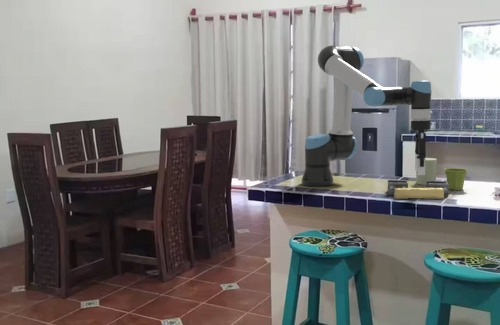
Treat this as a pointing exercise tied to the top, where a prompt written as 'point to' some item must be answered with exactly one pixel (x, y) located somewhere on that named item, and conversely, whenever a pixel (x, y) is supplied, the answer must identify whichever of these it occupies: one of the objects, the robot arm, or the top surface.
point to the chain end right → (438, 186)
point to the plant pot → (455, 178)
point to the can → (427, 172)
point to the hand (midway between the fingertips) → (419, 172)
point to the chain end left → (396, 185)
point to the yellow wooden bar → (418, 193)
